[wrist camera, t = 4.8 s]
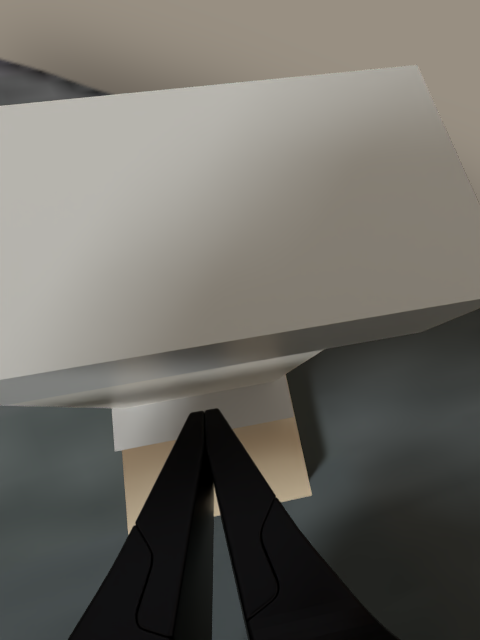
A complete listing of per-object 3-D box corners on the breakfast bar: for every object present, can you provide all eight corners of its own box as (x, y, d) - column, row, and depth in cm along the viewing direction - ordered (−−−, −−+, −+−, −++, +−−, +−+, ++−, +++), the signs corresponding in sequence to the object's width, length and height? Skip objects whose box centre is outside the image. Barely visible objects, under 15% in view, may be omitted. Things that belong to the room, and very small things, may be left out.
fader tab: (285, 415, 14) (586, 444, 2) (130, 445, 14) (-556, 691, 2) (263, 313, 16) (382, -12, 4) (121, 336, 15) (-299, 40, 3)
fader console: (308, 486, 15) (317, 494, 14) (133, 523, 15) (122, 537, 13) (243, 187, 20) (244, 168, 18) (108, 204, 19) (98, 186, 18)
